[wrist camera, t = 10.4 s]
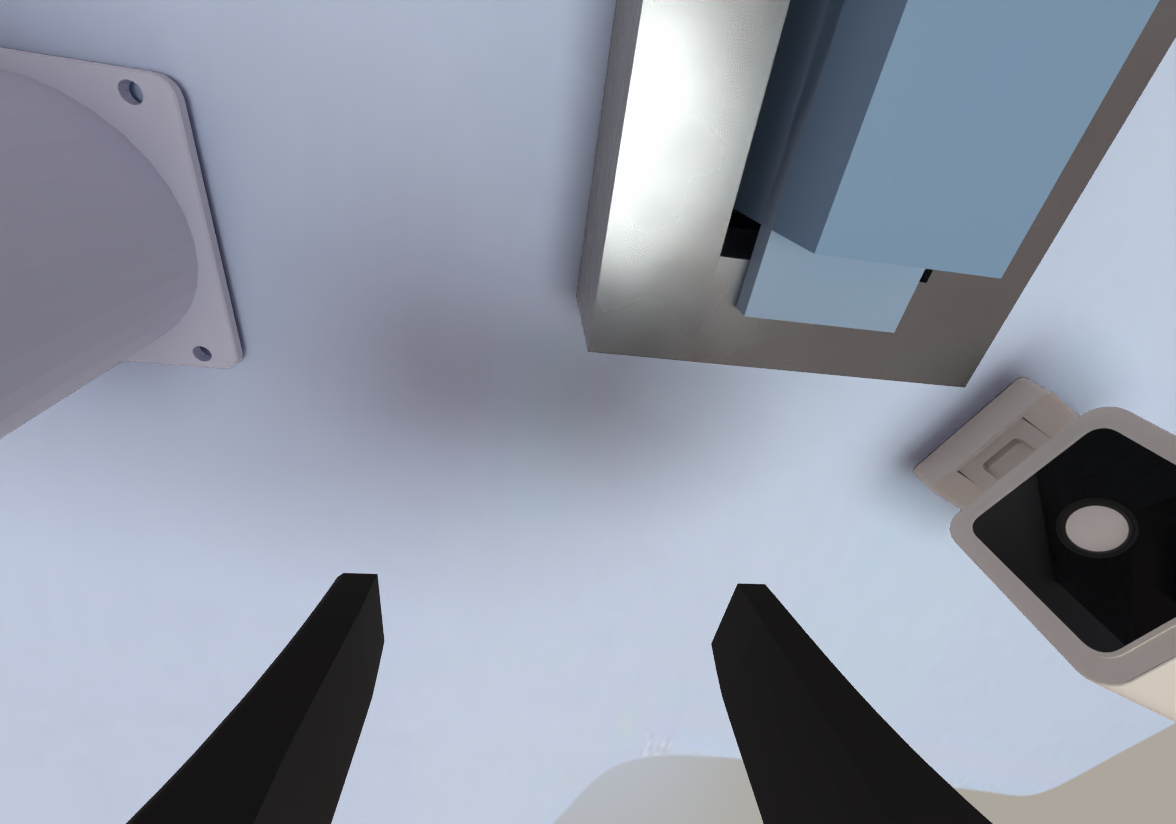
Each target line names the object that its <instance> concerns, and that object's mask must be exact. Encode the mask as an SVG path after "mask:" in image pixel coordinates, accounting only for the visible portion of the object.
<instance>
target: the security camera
mask: <svg viewBox="0 0 1176 824" xmlns="http://www.w3.org/2000/svg"><path fill="white" fill-rule="evenodd" d="M914 473H915V474H916V475H917V476H918V477H919V478H920V479H921V480H922V481H923V482H924V483H925V484H926V485H927V486H928V487H929V488H930V489H931V490H932V491H933V492H934V493H936V494H937V495H939V496H940V497H942V498H944V499H945V500H947V501H949V502H950V503H952V504H953V505H955V506H957V507H958V508H960V509H962V510H960V511H959V512H958V513H957V514H956V515H955V516H954V517H953V519H952V521H951V523H950V533H951V537H952V538H953V540H954V541H955V543H956V544H957V545H958V546H959V547H960V548H961V549H962V550H963V551H964V552H965V553H966V554H967V555H968V556H969V557H970V558H971V560H972V561H973V562H974V563H975V564H976V565H977V566H978V567H979V568H980V569H981V570H982V571H983V572H984V573H985V574H986V575H987V576H988V577H989V579H990V580H991V581H992V582H993V583H994V584H995V585H996V586H997V587H998V588H999V589H1000V590H1001V591H1002V592H1003V593H1004V594H1005V595H1006V597H1007V598H1008V599H1009V600H1010V601H1011V602H1012V603H1013V604H1014V605H1015V606H1016V607H1017V608H1018V609H1019V610H1020V611H1021V612H1022V613H1023V615H1024V616H1025V617H1026V618H1027V619H1028V620H1029V621H1030V622H1031V623H1032V624H1033V625H1034V626H1035V627H1036V628H1037V629H1038V630H1039V631H1040V632H1041V634H1042V635H1043V636H1044V637H1045V638H1046V639H1047V640H1048V641H1049V642H1050V643H1051V644H1052V645H1053V646H1054V647H1055V648H1056V649H1057V650H1058V652H1059V653H1060V654H1061V655H1062V656H1063V657H1064V658H1065V659H1066V660H1067V661H1068V662H1069V663H1070V664H1071V665H1072V666H1073V667H1074V668H1075V670H1076V671H1078V672H1079V673H1080V674H1081V675H1082V676H1084V677H1085V678H1086V679H1088V680H1090V681H1092V682H1094V683H1096V684H1098V685H1100V686H1102V687H1104V688H1106V689H1108V690H1110V691H1112V692H1115V693H1117V694H1119V695H1121V696H1123V697H1125V698H1127V699H1129V700H1131V701H1133V702H1135V703H1137V704H1139V705H1141V706H1144V707H1146V708H1148V709H1150V710H1152V711H1154V712H1156V713H1158V714H1160V715H1162V716H1164V717H1166V718H1168V719H1171V720H1173V721H1175V722H1176V436H1175V435H1173V434H1171V433H1169V432H1168V431H1166V430H1164V429H1162V428H1160V427H1158V426H1156V425H1154V424H1152V423H1150V422H1149V421H1147V420H1145V419H1143V418H1141V417H1139V416H1137V415H1135V414H1133V413H1132V412H1130V411H1127V410H1125V409H1122V408H1119V407H1101V408H1096V409H1093V410H1090V411H1088V412H1086V413H1084V414H1083V415H1081V416H1079V415H1078V414H1077V413H1076V412H1074V411H1073V410H1072V409H1071V408H1070V407H1068V406H1067V405H1066V404H1065V403H1064V402H1063V401H1061V400H1060V399H1059V398H1058V397H1057V396H1055V395H1054V394H1053V393H1051V392H1049V391H1048V390H1046V389H1044V388H1042V387H1041V386H1039V385H1037V384H1035V383H1034V382H1032V381H1030V380H1028V379H1027V378H1024V377H1022V378H1019V379H1017V380H1016V381H1014V382H1013V383H1012V384H1011V385H1010V386H1009V387H1008V388H1006V389H1005V390H1004V391H1003V392H1002V393H1001V394H999V395H998V396H997V397H996V398H995V399H994V400H993V401H991V402H990V403H989V404H988V405H987V406H986V407H984V408H983V409H982V410H981V411H980V412H979V413H978V414H976V415H975V416H974V417H973V418H972V419H971V420H969V421H968V422H967V423H966V424H965V425H964V426H963V427H961V428H960V429H959V430H958V431H957V432H956V433H954V434H953V435H952V436H951V437H950V438H949V439H948V440H946V441H945V442H944V443H943V444H942V445H941V446H939V447H938V448H937V449H936V450H935V451H934V452H933V453H931V454H930V455H929V456H928V457H927V458H926V459H924V460H923V461H922V462H921V463H920V464H919V465H918V466H916V467H915V469H914Z"/></svg>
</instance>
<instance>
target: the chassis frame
mask: <svg viewBox="0 0 1176 824" xmlns="http://www.w3.org/2000/svg"><path fill="white" fill-rule="evenodd" d="M789 3H790V0H617V1H616V8H615V15H614V23H613V30H612V37H611V45H610V52H609V59H608V67H607V74H606V82H605V89H604V96H603V104H602V111H601V118H600V126H599V133H598V140H597V148H596V155H595V162H594V170H593V177H592V185H591V192H590V199H589V207H588V214H587V221H586V229H585V236H584V243H583V251H582V258H581V265H580V273H579V280H578V287H577V295H576V296H577V301H578V306H579V311H580V316H581V320H582V325H583V330H584V335H585V340H586V345H587V349H588V352H598V353H609V354H619V355H630V356H640V357H651V358H661V359H672V360H682V361H693V362H703V363H714V364H724V365H735V366H746V367H756V368H767V369H777V370H788V371H798V372H809V373H819V374H830V375H840V376H851V377H861V378H872V379H882V380H893V381H903V382H914V383H924V384H935V385H945V386H956V387H965V386H966V384H967V383H968V381H969V380H970V378H971V376H972V375H973V373H974V371H975V370H976V368H977V366H978V365H979V363H980V361H981V360H982V358H983V356H984V355H985V353H986V351H987V350H988V348H989V346H990V345H991V343H992V341H993V340H994V338H995V336H996V335H997V333H998V331H999V330H1000V328H1001V326H1002V325H1003V323H1004V321H1005V320H1006V318H1007V316H1008V315H1009V313H1010V311H1011V310H1012V308H1013V306H1014V305H1015V303H1016V301H1017V300H1018V298H1019V296H1020V295H1021V293H1022V291H1023V290H1024V288H1025V287H1026V285H1027V283H1028V282H1029V280H1030V278H1031V277H1032V275H1033V273H1034V272H1035V270H1036V268H1037V267H1038V265H1039V263H1040V262H1041V260H1042V258H1043V257H1044V255H1045V253H1046V252H1047V250H1048V248H1049V247H1050V245H1051V243H1052V242H1053V240H1054V238H1055V237H1056V235H1057V233H1058V232H1059V230H1060V228H1061V227H1062V225H1063V223H1064V222H1065V220H1066V218H1067V217H1068V215H1069V213H1070V212H1071V210H1072V208H1073V207H1074V205H1075V203H1076V202H1077V200H1078V198H1079V197H1080V195H1081V193H1082V192H1083V190H1084V189H1085V187H1086V185H1087V184H1088V182H1089V180H1090V179H1091V177H1092V175H1093V174H1094V172H1095V170H1096V169H1097V167H1098V165H1099V164H1100V162H1101V160H1102V159H1103V157H1104V155H1105V154H1106V152H1107V150H1108V149H1109V147H1110V145H1111V144H1112V142H1113V140H1114V139H1115V137H1116V135H1117V134H1118V132H1119V130H1120V129H1121V127H1122V125H1123V124H1124V122H1125V120H1126V119H1127V117H1128V115H1129V114H1130V112H1131V110H1132V109H1133V107H1134V105H1135V104H1136V102H1137V100H1138V99H1139V97H1140V96H1141V94H1142V92H1143V91H1144V89H1145V87H1146V86H1147V84H1148V82H1149V81H1150V79H1151V77H1152V76H1153V74H1154V72H1155V71H1156V69H1157V67H1158V66H1159V64H1160V62H1161V61H1162V59H1163V57H1164V56H1165V54H1166V52H1167V51H1168V49H1169V47H1170V46H1171V44H1172V42H1173V41H1174V39H1175V37H1176V0H1160V1H1159V2H1158V4H1157V6H1156V8H1155V9H1154V11H1153V13H1152V15H1151V16H1150V18H1149V20H1148V22H1147V23H1146V25H1145V27H1144V29H1143V30H1142V32H1141V34H1140V36H1139V38H1138V39H1137V41H1136V43H1135V45H1134V46H1133V48H1132V50H1131V52H1130V53H1129V55H1128V57H1127V59H1126V60H1125V62H1124V64H1123V66H1122V67H1121V69H1120V71H1119V73H1118V74H1117V76H1116V78H1115V80H1114V81H1113V83H1112V85H1111V87H1110V88H1109V90H1108V92H1107V94H1106V95H1105V97H1104V99H1103V101H1102V102H1101V104H1100V106H1099V108H1098V109H1097V111H1096V113H1095V115H1094V116H1093V118H1092V120H1091V122H1090V123H1089V125H1088V127H1087V129H1086V130H1085V132H1084V134H1083V136H1082V137H1081V139H1080V141H1079V143H1078V144H1077V146H1076V148H1075V150H1074V152H1073V153H1072V155H1071V157H1070V159H1069V160H1068V162H1067V164H1066V166H1065V167H1064V169H1063V171H1062V173H1061V174H1060V176H1059V178H1058V180H1057V181H1056V183H1055V185H1054V187H1053V188H1052V190H1051V192H1050V194H1049V195H1048V197H1047V199H1046V201H1045V202H1044V204H1043V206H1042V208H1041V209H1040V211H1039V213H1038V215H1037V216H1036V218H1035V220H1034V222H1033V223H1032V225H1031V227H1030V229H1029V230H1028V232H1027V234H1026V236H1025V237H1024V239H1023V241H1022V243H1021V244H1020V246H1019V248H1018V250H1017V251H1016V253H1015V255H1014V257H1013V258H1012V260H1011V262H1010V264H1009V265H1008V267H1007V269H1006V271H1005V273H1004V274H1003V276H1002V278H993V277H985V276H978V275H970V274H963V273H955V272H948V271H940V270H932V269H925V271H924V273H923V275H922V277H921V279H920V281H919V283H918V285H917V287H916V289H915V291H914V293H913V295H912V297H911V299H910V301H909V303H908V305H907V307H906V310H905V312H904V314H903V316H902V318H901V320H900V322H899V324H898V326H897V328H896V330H895V332H894V333H891V332H882V331H873V330H864V329H855V328H846V327H836V326H827V325H818V324H809V323H800V322H791V321H782V320H773V319H763V318H754V317H745V316H743V315H742V314H741V312H740V311H739V310H738V309H737V308H736V305H737V302H738V299H739V296H740V292H741V289H742V286H743V282H744V279H745V276H746V273H747V269H748V266H749V263H750V260H751V256H752V253H753V250H754V246H755V243H756V240H757V237H758V233H759V231H758V230H751V229H743V228H736V227H729V226H728V225H729V221H730V217H731V214H732V210H733V207H734V203H735V199H736V196H737V192H738V188H739V185H740V181H741V177H742V174H743V170H744V167H745V163H746V159H747V156H748V152H749V148H750V145H751V141H752V137H753V134H754V130H755V127H756V123H757V119H758V116H759V112H760V108H761V105H762V101H763V98H764V94H765V90H766V87H767V83H768V79H769V76H770V72H771V68H772V65H773V61H774V58H775V54H776V50H777V47H778V43H779V39H780V36H781V32H782V28H783V25H784V21H785V18H786V14H787V10H788V7H789Z"/></svg>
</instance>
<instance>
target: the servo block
mask: <svg viewBox="0 0 1176 824" xmlns="http://www.w3.org/2000/svg"><path fill="white" fill-rule="evenodd" d="M1159 1H1160V0H790V3H789V7H788V10H787V14H786V18H785V21H784V25H783V28H782V32H781V36H780V39H779V43H778V47H777V50H776V54H775V58H774V61H773V65H772V68H771V72H770V76H769V79H768V83H767V87H766V90H765V94H764V98H763V101H762V105H761V108H760V112H759V116H758V119H757V123H756V127H755V130H754V134H753V137H752V141H751V145H750V148H749V152H748V156H747V159H746V163H745V167H744V170H743V174H742V177H741V181H740V185H739V188H738V192H737V196H736V199H735V203H734V207H733V209H735V210H737V211H738V212H740V213H742V214H744V215H746V216H747V217H749V218H751V219H753V220H755V221H756V222H758V223H760V224H761V227H760V230H759V233H758V237H757V240H756V243H755V246H754V250H753V253H752V256H751V260H750V263H749V266H748V269H747V273H746V276H745V279H744V282H743V286H742V289H741V292H740V296H739V299H738V302H737V305H736V308H737V309H738V310H739V311H740V312H741V314H742V315H743V316H745V317H754V318H763V319H773V320H782V321H791V322H800V323H809V324H818V325H827V326H836V327H846V328H855V329H864V330H873V331H882V332H891V333H894V332H895V330H896V328H897V326H898V324H899V322H900V320H901V318H902V316H903V314H904V312H905V310H906V307H907V305H908V303H909V301H910V299H911V297H912V295H913V293H914V291H915V289H916V287H917V285H918V283H919V281H920V279H921V277H922V275H923V273H924V271H925V269H932V270H940V271H948V272H955V273H963V274H970V275H978V276H985V277H993V278H1002V276H1003V274H1004V273H1005V271H1006V269H1007V267H1008V265H1009V264H1010V262H1011V260H1012V258H1013V257H1014V255H1015V253H1016V251H1017V250H1018V248H1019V246H1020V244H1021V243H1022V241H1023V239H1024V237H1025V236H1026V234H1027V232H1028V230H1029V229H1030V227H1031V225H1032V223H1033V222H1034V220H1035V218H1036V216H1037V215H1038V213H1039V211H1040V209H1041V208H1042V206H1043V204H1044V202H1045V201H1046V199H1047V197H1048V195H1049V194H1050V192H1051V190H1052V188H1053V187H1054V185H1055V183H1056V181H1057V180H1058V178H1059V176H1060V174H1061V173H1062V171H1063V169H1064V167H1065V166H1066V164H1067V162H1068V160H1069V159H1070V157H1071V155H1072V153H1073V152H1074V150H1075V148H1076V146H1077V144H1078V143H1079V141H1080V139H1081V137H1082V136H1083V134H1084V132H1085V130H1086V129H1087V127H1088V125H1089V123H1090V122H1091V120H1092V118H1093V116H1094V115H1095V113H1096V111H1097V109H1098V108H1099V106H1100V104H1101V102H1102V101H1103V99H1104V97H1105V95H1106V94H1107V92H1108V90H1109V88H1110V87H1111V85H1112V83H1113V81H1114V80H1115V78H1116V76H1117V74H1118V73H1119V71H1120V69H1121V67H1122V66H1123V64H1124V62H1125V60H1126V59H1127V57H1128V55H1129V53H1130V52H1131V50H1132V48H1133V46H1134V45H1135V43H1136V41H1137V39H1138V38H1139V36H1140V34H1141V32H1142V30H1143V29H1144V27H1145V25H1146V23H1147V22H1148V20H1149V18H1150V16H1151V15H1152V13H1153V11H1154V9H1155V8H1156V6H1157V4H1158V2H1159Z"/></svg>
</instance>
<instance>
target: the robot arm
mask: <svg viewBox="0 0 1176 824" xmlns="http://www.w3.org/2000/svg"><path fill="white" fill-rule="evenodd" d="M132 81H133V82H134V83H135V84H136V85H138V86H139V87H140V89H141V91H142V93H143V101H142V102H141V103H138V102H137V101H136V100H135V99H134V98H133V97H132V95H131V93H130V91H129V84H130V83H131V82H132ZM200 346H202V347H205V348H206V349H208V350H209V351H210V353H211V354H212V356H209V355H206V354H205V353H203V352H202V350H201V349H200ZM241 359H242V348H241V344H240V339H239V335H238V331H237V326H236V322H235V318H234V313H233V309H232V304H231V300H230V296H229V291H228V287H227V283H226V278H225V274H224V269H223V265H222V261H221V256H220V252H219V248H218V243H217V239H216V234H215V230H214V226H213V221H212V217H211V213H210V208H209V204H208V199H207V195H206V191H205V186H204V182H203V178H202V173H201V169H200V164H199V160H198V156H197V151H196V147H195V143H194V138H193V134H192V129H191V125H190V121H189V116H188V112H187V108H186V103H185V99H184V97H183V94H182V92H181V90H180V88H179V87H178V86H177V84H176V83H175V82H174V81H173V80H171V79H170V78H169V77H167V76H166V75H164V74H161V73H158V72H153V71H147V70H141V69H134V68H128V67H122V66H115V65H109V64H103V63H97V62H90V61H84V60H78V59H71V58H65V57H59V56H52V55H46V54H40V53H33V52H27V51H21V50H15V49H8V48H2V47H0V439H1V438H3V437H4V436H6V435H7V434H9V433H10V432H12V431H14V430H15V429H17V428H18V427H20V426H21V425H23V424H25V423H26V422H28V421H29V420H31V419H32V418H34V417H36V416H37V415H39V414H40V413H42V412H43V411H45V410H47V409H48V408H50V407H51V406H53V405H54V404H56V403H58V402H59V401H61V400H62V399H64V398H65V397H67V396H68V395H70V394H72V393H73V392H75V391H76V390H78V389H79V388H81V387H83V386H84V385H86V384H87V383H89V382H90V381H92V380H94V379H95V378H97V377H98V376H100V375H101V374H103V373H105V372H106V371H108V370H109V369H111V368H112V367H114V366H116V365H117V364H119V363H120V362H122V361H134V362H147V363H159V364H171V365H184V366H196V367H208V368H221V369H227V368H232V367H234V366H235V365H236V364H238V363H239V362H240V360H241ZM711 644H712V650H713V655H714V660H715V665H716V670H717V675H718V680H719V684H720V689H721V693H722V697H723V700H724V703H725V707H726V710H727V713H728V716H729V719H730V722H731V725H732V728H733V732H734V735H735V738H736V741H737V744H738V747H739V750H740V753H741V756H742V759H743V762H744V765H745V768H746V771H747V774H748V777H749V780H750V783H751V786H752V789H753V792H754V795H755V798H756V801H757V805H758V808H759V810H760V814H761V817H762V820H763V823H764V824H992V823H991V822H990V821H989V820H988V819H987V818H985V817H984V816H983V815H982V814H981V813H980V812H979V811H978V810H977V809H975V808H974V807H973V806H972V805H971V804H970V803H969V802H968V801H967V800H965V799H964V798H963V797H962V796H961V795H960V794H959V793H958V792H957V791H956V790H955V789H954V788H953V787H952V786H951V785H950V784H948V783H947V782H946V781H945V780H944V779H943V778H942V777H941V776H940V775H939V774H938V773H937V772H936V771H935V770H934V769H933V768H931V767H930V766H929V765H928V764H927V763H926V762H925V761H924V760H923V759H922V758H921V757H920V756H919V755H918V754H917V753H916V752H915V751H914V750H913V749H912V748H911V747H910V746H909V745H908V744H907V743H906V742H905V741H904V740H903V739H902V738H901V737H900V736H899V735H898V734H897V733H896V732H895V731H894V730H893V728H892V727H891V726H890V725H889V724H888V723H887V722H886V721H885V720H884V719H883V718H882V717H881V716H880V715H879V714H878V713H877V712H876V711H875V710H874V709H873V708H872V707H871V705H870V704H869V703H868V702H867V701H866V700H865V699H864V698H863V697H862V696H861V695H860V694H859V692H858V691H857V690H856V689H855V688H854V687H853V686H852V685H851V684H850V683H849V681H848V680H847V679H846V678H845V677H844V676H843V675H842V674H841V672H840V671H839V670H838V669H837V668H836V667H835V666H834V665H833V663H832V662H831V661H830V660H829V659H828V658H827V656H826V655H825V654H824V653H823V652H822V651H821V650H820V648H819V647H818V646H817V645H816V644H815V643H814V641H813V640H812V639H811V638H810V637H809V635H808V634H807V633H806V632H805V631H804V630H803V628H802V627H801V626H800V625H799V624H798V623H797V621H796V620H795V619H794V618H793V617H792V615H791V614H790V613H789V612H788V611H787V610H786V608H785V607H784V606H783V605H782V604H781V602H780V601H779V600H778V599H777V598H776V597H775V595H774V594H773V593H772V592H771V591H770V590H769V588H768V587H767V586H766V585H765V584H737V586H736V589H735V591H734V593H733V596H732V598H731V600H730V602H729V605H728V607H727V609H726V612H725V614H724V616H723V618H722V621H721V623H720V625H719V628H718V630H717V632H716V634H715V637H714V639H713V641H712V643H711ZM383 645H384V633H383V624H382V614H381V604H380V595H379V585H378V575H377V574H355V573H343V574H341V575H340V576H339V577H337V579H336V580H335V582H334V583H333V584H332V586H331V587H330V589H329V590H328V592H327V593H326V594H325V596H324V597H323V598H322V600H321V601H320V603H319V604H318V605H317V607H316V608H315V609H314V611H313V612H312V613H311V615H310V616H309V617H308V619H307V620H306V621H305V623H304V624H303V625H302V627H301V628H300V629H299V630H298V632H297V633H296V634H295V636H294V637H293V638H292V639H291V641H290V642H289V643H288V645H287V646H286V647H285V648H284V649H283V651H282V652H281V653H280V654H279V656H278V657H277V658H276V659H275V660H274V662H273V663H272V664H271V665H270V667H269V668H268V669H267V670H266V671H265V673H264V674H263V675H262V676H261V678H260V679H259V680H258V681H257V682H256V684H255V685H254V686H253V687H252V688H251V690H250V691H249V692H248V693H247V694H246V695H245V697H244V698H243V699H242V700H241V701H240V702H239V703H238V705H237V706H236V707H235V708H234V709H233V710H232V711H231V712H230V714H229V715H228V716H227V717H226V718H225V719H224V720H223V721H222V723H221V724H220V725H219V726H218V727H217V728H216V729H215V730H214V732H213V733H212V734H211V735H210V736H209V737H208V738H207V739H206V741H205V742H204V743H203V744H202V745H201V746H200V747H199V748H198V750H197V751H196V752H195V753H194V754H193V755H192V756H191V757H190V758H189V759H188V760H187V761H186V762H185V763H184V765H183V766H182V767H181V768H180V769H179V770H178V771H177V772H176V773H175V774H174V775H173V776H172V777H171V778H170V779H169V780H168V781H167V782H166V783H165V785H164V786H163V787H162V788H161V789H160V790H159V791H158V792H157V793H156V794H155V795H154V796H153V797H152V798H151V799H150V800H149V801H148V802H147V803H146V804H145V805H144V806H143V807H142V808H141V809H140V810H139V811H138V812H137V813H136V814H135V815H134V816H133V817H132V818H131V819H130V820H129V821H128V822H127V823H126V824H331V822H332V819H333V816H334V813H335V810H336V807H337V804H338V801H339V798H340V795H341V792H342V789H343V786H344V783H345V779H346V776H347V773H348V770H349V767H350V764H351V761H352V758H353V755H354V752H355V749H356V746H357V743H358V740H359V737H360V734H361V731H362V727H363V724H364V721H365V718H366V715H367V712H368V709H369V706H370V702H371V699H372V695H373V691H374V687H375V682H376V678H377V673H378V669H379V664H380V659H381V655H382V650H383Z"/></svg>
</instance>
